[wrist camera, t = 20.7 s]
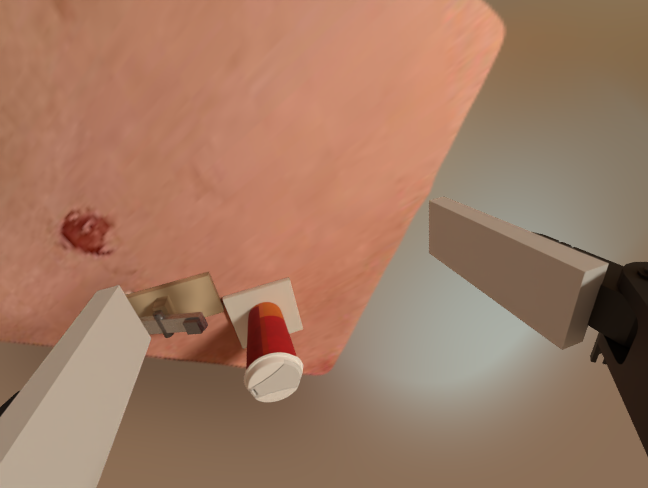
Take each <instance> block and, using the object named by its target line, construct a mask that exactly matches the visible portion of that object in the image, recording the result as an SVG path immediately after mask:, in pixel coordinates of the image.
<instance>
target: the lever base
mask: <svg viewBox="0 0 648 488" xmlns="http://www.w3.org/2000/svg"><path fill="white" fill-rule="evenodd" d="M125 296H126V297H127V299H128V301H129V302H130V304H131V306H132V307H133V309H134V311H135V312H136V314H137V316H138V317H145V316H153V313H154V312H156V311H158V310H162V312H163V314H164V315H169V314H181V313H193V312H202V313H203V315H204V317H208V316H211V315H215V314H218V313H221V312H223V310H224V307H223V305H222V302H221V300H220V297H219V295H218V293H217V290H216V288H215V285H214V283H213V281H212V278H211V276H210V273H209V272H206V273H203V274H199V275H195V276H192V277H188V278H185V279H181V280H177V281H174V282H170V283H167V284H163V285H160V286H156V287H152V288H149V289H145V290H142V291H138V292H134V293H131V294H127V295H125Z"/></svg>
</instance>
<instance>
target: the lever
mask: <svg viewBox="0 0 648 488" xmlns="http://www.w3.org/2000/svg"><path fill="white" fill-rule="evenodd" d="M139 319H140V320H141V322H142V324H143V325H144V327H145V329H146V330H147V332H148V334H161V333H163V335H164V336H165V338H169V337H171V336H172V335H173V334H174V332H187V333H188V334H201V333H202V332H203V331H204V330H205V329H206V328H207V326H208V324H207V322H206V319H205V317H204V315H203V313H202V312H193V313H181V314H169V315H164V314H163V312H162V310H158V311H156V312H154V313H153V316H145V317H139Z"/></svg>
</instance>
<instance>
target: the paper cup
mask: <svg viewBox="0 0 648 488" xmlns="http://www.w3.org/2000/svg"><path fill="white" fill-rule="evenodd" d="M302 372H303V364H302V361H301V360H300V359H299V358H298V357H297V356H296V353H295V350H294V347H293V344H292V341H291V338H290V335H289V332H288V329H287V326H286V323H285V320H284V317H283V314H282V312H281V310H280V308H279V307H278V306H277V305H276V304H274V303H271V302H262V303H259V304H257V305H255V306H254V307H253V308H252V309H251V310H250V312H249V316H248V332H247V367H246V372H245V374H244V384H245V386H246V388H247V390H248V391H249V392H250V393H251V394H252V396H254V398H255V399H256V400H259V401H263V402H274V401H278V400H282V399H284V398H286V397H288V396H289V395H291V394H292V393H293V392H294V391H295V390H296V389H297V387H298V385H299V383H300V378H301V376H302Z"/></svg>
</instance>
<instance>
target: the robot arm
mask: <svg viewBox="0 0 648 488" xmlns="http://www.w3.org/2000/svg"><path fill="white" fill-rule="evenodd" d="M429 253H430V254H431V255H433V256H434V257H435V258H437V259H438V260H439V261H441V262H442V263H444V264H445V265H446V266H448V267H449V268H450V269H452V270H453V271H455V272H456V273H457V274H459V275H460V276H461V277H463V278H464V279H466V280H467V281H468V282H470V283H471V284H472V285H474V286H475V287H477V288H478V289H479V290H481V291H482V292H483V293H485V294H486V295H488V296H489V297H490V298H492V299H493V300H495V301H496V302H497V303H498V304H500V305H501V306H503V307H504V308H506V309H507V310H508V311H510V312H511V313H512V314H514V315H515V316H517V317H518V318H519V319H520V320H522V321H523V322H525V323H526V324H527V325H529V326H530V327H531V328H533V329H534V330H536V331H537V332H538V333H540V334H541V335H542V336H544V337H545V338H547V339H548V340H549V341H551V342H552V343H553V344H555V345H556V346H558V347H559V348H560V349H562V350H563V349H565V348H567V347H570V346H573V345H575V344H577V343H580V342H582V341H583V339H584V336H585V333H586V330H587V327H588V325H589V326H590V327H592V328H594V329H595V330H597V331H598V332H599V334H598V336H597V339H596V342H595V345H594V347H593V350H592V353H591V355H590V357H591V362H596V360H597V358H598V355H599V354H601V353H602V355H603V357H604V360H603V364H607V365H608V368H609V370H610V372H611V375H612V377H613V379H614V381H615V384H616V386H617V388H618V391H619V393H620V395H621V397H622V399H623V402H624V404H625V406H626V408H627V411H628V413H629V415H630V417H631V420H632V422H633V424H634V427H635V428H636V431H637V433H638V435H639V438H640V440H641V442H642V444H643V447H644V449H645V451H646V454H647V456H648V262H633V263H629V264H626V265H625V266H621V265H619V264H616V263H614V262H611V261H609V260H606V259H604V258H601V257H598V256H596V255H594V254H591V253H589V252H586V251H584V250H581V249H579V248H576V247H573V248H572V247H571V245H569V244H566V243H563V242H559V241H558V240H556V239H553V238H551V237H548V236H546V235H543V234H538V233H534V232H530V231H528V230H525V229H523V228H520V227H518V226H515V225H513V224H510V223H508V222H505V221H503V220H501V219H498V218H496V217H493V216H490V215H488V214H485V213H483V212H481V211H478V210H476V209H473V208H471V207H468V206H466V205H463V204H461V203H459V202H456V201H453V200H451V199H449V198H446V197H441V198H437V199H433V200H430V201H429ZM150 341H151V337H150V335H149V334H148V332H147V330H146V329H145V327H144V325H143V324H142V322H141V320H140V319H139V317H138V316H137V314H136V312H135V311H134V309H133V307H132V306H131V304H130V302H129V301H128V299H127V297H126V296H125V294H124V292H123V291H122V289H121V287H120V286H119V285H118V286H114V287H110V288H107V289H103V290H99V291H97V292H96V293H95V294H94V296H93V297H92V298H91V300H90V301H89V302H88V304H87V305H86V306H85V308H84V309H83V310H82V311H81V313H80V314H79V315H78V317H77V318H76V319H75V321H74V322H73V323H72V324H71V326H70V327H69V328H68V330H67V331H66V332H65V334H64V335H63V336H62V337H61V339H60V340H59V341H58V343H57V344H56V345H55V347H54V348H53V349H52V351H51V352H50V353H49V355H48V356H47V357H46V358H45V360H44V361H43V362H42V364H41V365H40V366H39V367H38V369H37V370H36V371H35V373H34V374H33V375H32V377H31V378H30V379H29V380H28V382H27V383H26V384H25V386H24V387H23V388H22V390H21V391H18V392H17V393H16V394H14V395H13V396H12V397H11V398H10V399H9V400H8V401H7V402H6V403H4V404H3V405H2V406H1V407H0V488H96V487H97V484H98V482H99V479H100V477H101V474H102V471H103V468H104V466H105V463H106V460H107V457H108V455H109V452H110V449H111V447H112V444H113V441H114V438H115V436H116V433H117V430H118V428H119V425H120V422H121V419H122V417H123V414H124V411H125V409H126V406H127V403H128V400H129V398H130V395H131V392H132V390H133V386H134V384H135V381H136V379H137V376H138V373H139V371H140V368H141V365H142V362H143V359H144V357H145V354H146V352H147V349H148V346H149V343H150Z"/></svg>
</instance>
